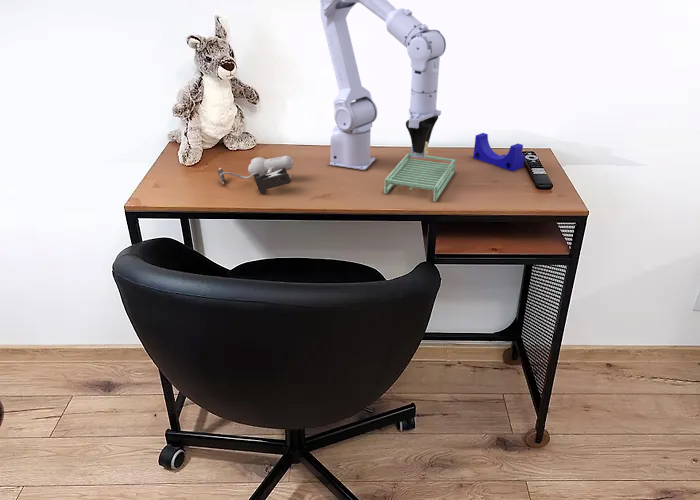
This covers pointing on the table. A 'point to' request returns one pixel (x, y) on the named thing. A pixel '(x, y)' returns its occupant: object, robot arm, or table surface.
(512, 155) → the blue cradle bracket
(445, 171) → the rack
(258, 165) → the clip-on lamp
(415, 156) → the alphabet block
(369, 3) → the robot arm
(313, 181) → the table surface
